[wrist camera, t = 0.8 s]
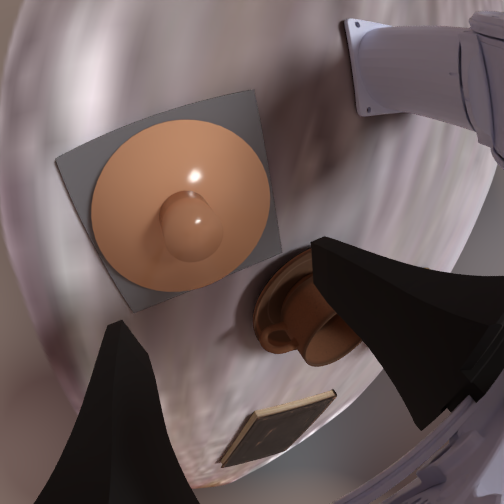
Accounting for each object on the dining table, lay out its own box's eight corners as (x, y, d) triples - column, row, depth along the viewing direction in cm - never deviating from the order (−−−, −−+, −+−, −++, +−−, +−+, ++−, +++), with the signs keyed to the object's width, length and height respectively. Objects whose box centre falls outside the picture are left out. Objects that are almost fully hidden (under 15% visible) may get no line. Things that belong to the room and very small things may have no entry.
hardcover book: (217, 459, 44) (221, 468, 42) (251, 407, 35) (257, 419, 33) (282, 442, 52) (287, 450, 50) (332, 386, 43) (338, 396, 41)
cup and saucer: (271, 354, 29) (298, 397, 24) (221, 286, 21) (253, 344, 16) (359, 293, 30) (394, 327, 25) (345, 209, 22) (397, 243, 18)
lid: (247, 98, 14) (276, 99, 12) (275, 249, 21) (300, 276, 18) (65, 162, 12) (47, 179, 9) (136, 306, 18) (141, 342, 15)
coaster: (251, 89, 14) (254, 89, 14) (279, 250, 21) (282, 252, 21) (57, 157, 12) (55, 158, 12) (133, 309, 19) (133, 313, 18)
